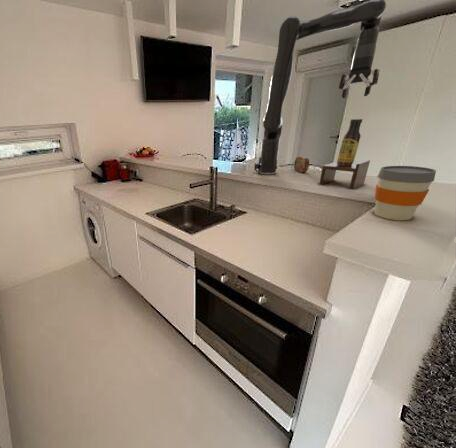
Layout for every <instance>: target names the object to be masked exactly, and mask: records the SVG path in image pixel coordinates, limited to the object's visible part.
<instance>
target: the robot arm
mask: <svg viewBox="0 0 456 448" xmlns="http://www.w3.org/2000/svg"><path fill="white" fill-rule="evenodd" d="M386 7H387V2H386V0H367V1H365V2H362V3H360V4H356V5H353V6H350V7H346V8H342V9H338V10H335V11H331V12H329V13H326V14H324V15H321V16H319V17H317V18H312V19H309V20H300V19H299V18H298V16H296V15H295V16H293V15H291V16H289V17H287V18H286V19H285V20H283V22H282V24H281V25H280V27H279V31H278V42H277V43H278V44H277V46H278V47H277V53H276V58H275V60H274V61H275V62H274V65H273V70H272V74H271V81H270V87H269V93H268V103H267V106H266V107H267V108H266V111H265V115H264V118H263V121H262V122H263V123H262V126H263V129H264V130H263V137H262V142H261V151H260V157H259V158H258V162H255V163H254V171H255V172H256V173H258V174H260V175H267V176H270V175H275V174H277V170H278V159H279V150H280V143H281V138H282V137H281V136H282V132H283V131H282V130H283V124H284V123H283V122H284V121H283V118H282V110H283V105H284V102H285V99H286V97H287V95H288V94H287V93H288V91H289V88H290V84H291V79H292V74H293V64H294V50H295V46H296V42H297V41H299V40H301V39H304V38H306V37H310V36H313V35H318V34H321V33H326V32H330V31H335V30H341V29H345V28H349V27H351V26H353V25H355V24H358V23H360V26H359V27H360V28H359V34H358V37H357V42H356V45H355V46H356V47H355V49H354V52H353V56H352V62H351V67H350V72H349V74H342V75H341V76H340V77H341V78H340V81H339V85H338V90H339V89H340V90H342V94H341V98H342V99H347V97H348V92H349V91H348V90H349V88H350V87H351V86H352V85H353V84H358V83H364V84H365V86H366V87H365V89H364V93H363V97H368V95H370V94H371V89H372V87H373V86H374V85H377V84H378V83H379V76H380V71H381V70H380V68H375V69H372V67H373V63H374V58H375V54H376V51H377V50H376V48H377V44H378V43H377V42H378V38H379V34H380V29H379V28H380V24H381V21H382V17H383V14H384V11H385V10H386ZM371 75H372V81H371V80H370V78H369V77H370V76H371ZM348 78H349V79H348ZM347 80H348V81H347ZM346 81H347V82H346Z"/></svg>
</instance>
